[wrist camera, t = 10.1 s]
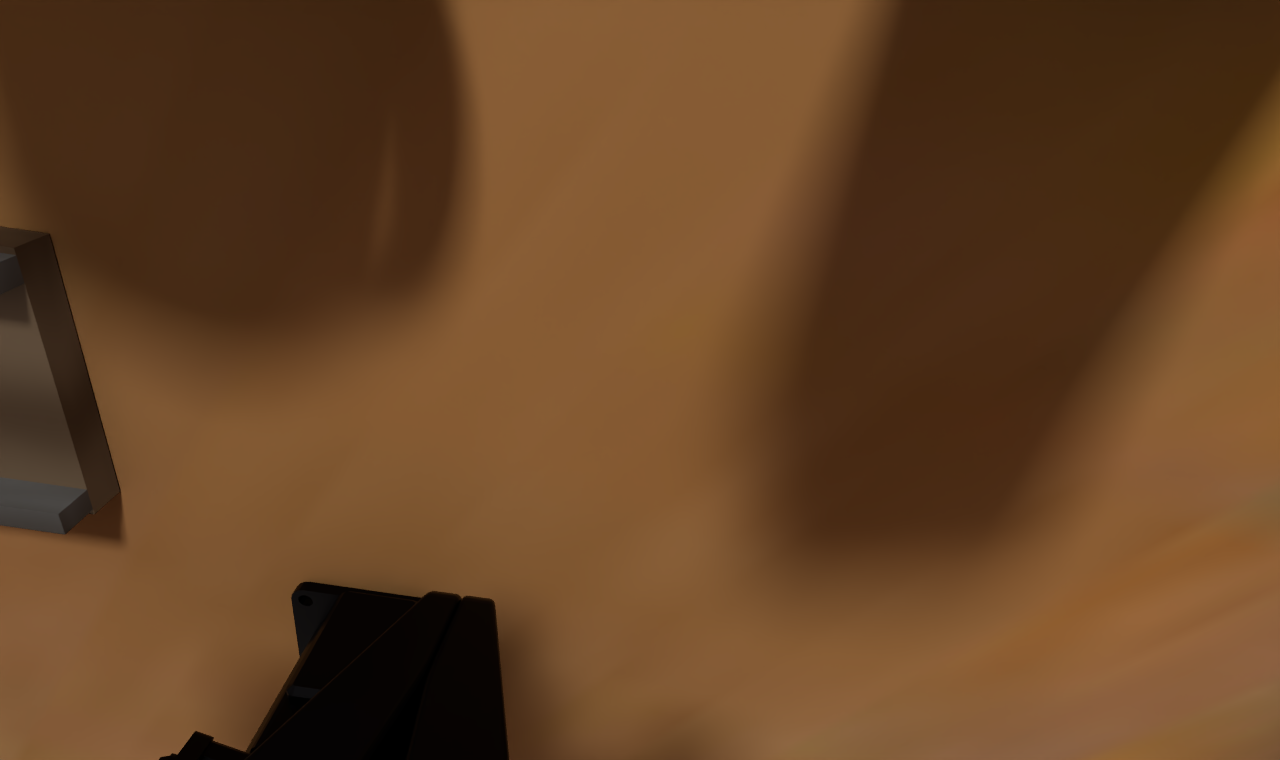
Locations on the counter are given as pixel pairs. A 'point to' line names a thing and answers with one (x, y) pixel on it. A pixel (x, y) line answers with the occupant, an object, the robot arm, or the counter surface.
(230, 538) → the counter surface
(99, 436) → the track
